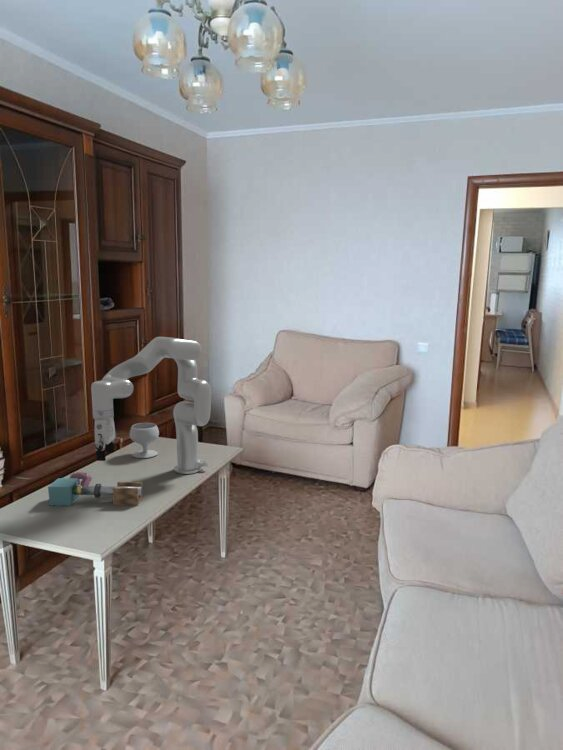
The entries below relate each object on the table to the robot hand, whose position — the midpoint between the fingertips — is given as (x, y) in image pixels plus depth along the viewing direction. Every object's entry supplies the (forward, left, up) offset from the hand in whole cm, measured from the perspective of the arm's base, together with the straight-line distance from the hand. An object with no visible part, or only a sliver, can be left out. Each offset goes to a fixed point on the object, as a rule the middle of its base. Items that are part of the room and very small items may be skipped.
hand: (105, 456), depth 210 cm
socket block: (+17, 0, -19) cm, 25 cm away
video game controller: (+17, -15, -19) cm, 30 cm away
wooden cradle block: (-8, 0, -19) cm, 20 cm away
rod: (0, 0, -17) cm, 17 cm away
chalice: (0, -56, -19) cm, 59 cm away
